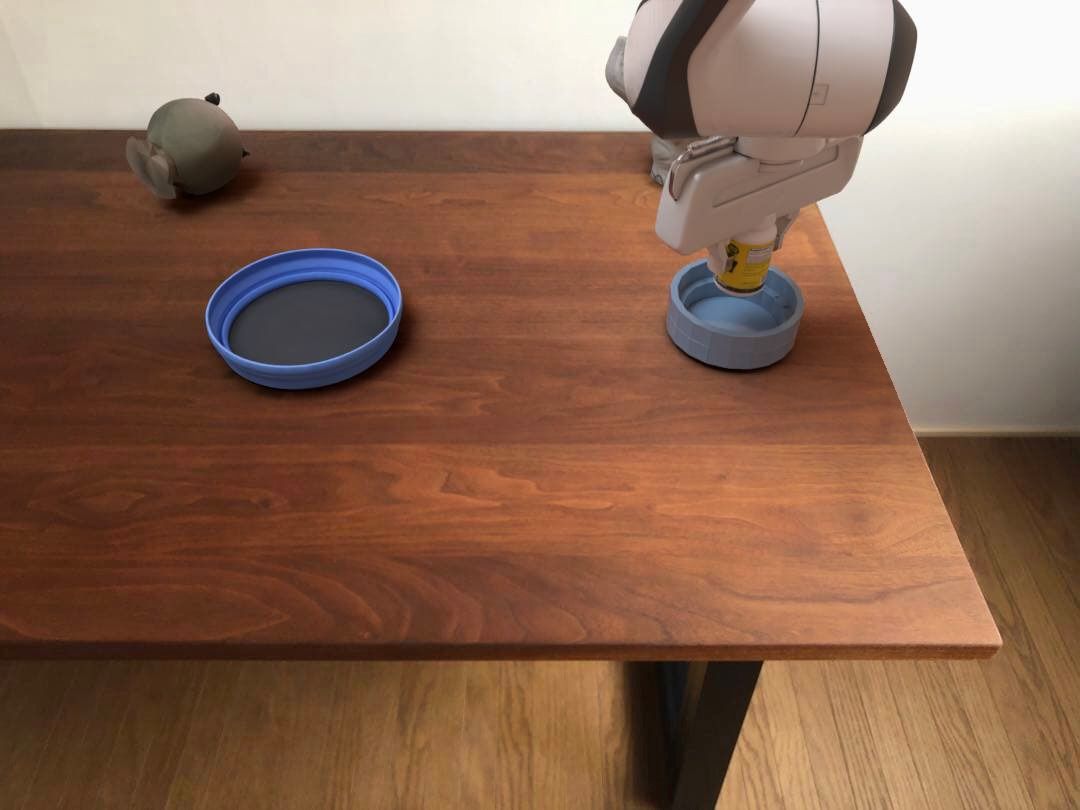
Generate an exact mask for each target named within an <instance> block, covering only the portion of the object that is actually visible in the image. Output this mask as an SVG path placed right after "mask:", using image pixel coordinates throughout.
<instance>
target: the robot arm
mask: <svg viewBox="0 0 1080 810" xmlns="http://www.w3.org/2000/svg"><path fill="white" fill-rule="evenodd" d="M917 28H918V27H917V26H916V23H915V22H914V20H913V18H912V17H911V15H910V13H909V12H908V11H907V9H906V8H905V7H904V5H903V4H902V3H901V2H900V1H899V0H641V1H640V3H639V4H638V6H637V9H636V11H635V14H634V17H633V20H632V22H631V23H630V26H629V30H628V33H627V36H626V37H627V40H626V45H625V52H624V84H625V90H626V94H627V102H628V104H627V106H628V105H629V106H628V108H629V107H630V108H629V110H630V109H631V110H632V111H633V113H634V114H635V115H636V116H637V117H636V116H635V115H634V116H635V117H636V118H637V119H638V120H639V121H640V122H641V123H642V124H643V125H644V126H645V127H646V128H647V129H649V130H650V131H651V132H652V134H653V133H654V134H656V135H657V136H658V137H659V138H661V139H662V140H669V139H687V138H701V137H702V136H712V137H710V138H708V139H706V140H703V141H701V140H700V141H696V142H693V143H691V144H690V145H688V146H687V147H686V149H685V152H684V153H682V154H681V155H680V156H679V157H678V159H677V160H675V161H674V162H673V163H672V165H671V168H670V171H669V173H668V175H667V178H666V181H665V184H664V186H663V187H662V191H661V195H660V199H659V203H658V208H657V212H656V217H655V223H654V233H655V235H656V236H657V238H658V239H659V240H660V241H661V242H662V243H663V244H664V245H666V246H667V247H668V248H669V249H671V250H672V251H674V252H675V253H676V254H678V255H680V256H683V257H686V256H689V255H692V254H694V253H697V252H700V251H701V250H704V249H706V250H707V252H708V255H707V258H708V261H707V267H708V269H709V270H710V271H712V272H713V273H714V274H716V275H718V276H719V275H721V274H723V273H726V272H728V271H730V270H732V268H733V266H732V264H733V262H734V258H735V256H734V255H733V254H732V253H730V252H727V250H726V249H725V247H724V246H726V245H729V243H730V240H731V237H733V236H735V235H738V234H740V233H743V232H745V231H748V230H750V229H752V228H755V227H757V226H759V225H760V224H761V223H762V221H763V220H764V218H765V217H766V216H768V215H771V214H773V213H776V221H775V225H776V227H777V235H776V239H775V243H774V248H773V252H772V253H774V252H777V251H779V250H781V249H782V247H783V243H784V238H785V235H787V233H788V231H789V230H790V228H791V227H792V226H793V224H794V223H795V221H797V219H798V217H799V215H800V212H801V209H803V208H806V207H808V206H810V205H813V204H815V203H818V202H820V201H822V200H825V199H827V198H829V197H832V196H834V195H838V194H839V193H841V192H842V191H843V190H844V189H845V188H846V187H847V185H848V184H849V182H850V181H851V180H852V178H853V175H854V173H855V170H856V167H857V164H858V161H859V159H860V154H861V152H862V151H861V150H862V147H863V143H864V139H865V136H866V135H868V134H869V133H871V132H872V131H873V130H875V129H876V128H877V127H878V126H880V125H881V124H882V123H883V122H884V121H885V120H886V119H887V118H888V117H889V116H890V115H891V113H893V112H894V110H895V109H896V107H897V106H899V104H900V102H901V101H902V98H903V96H904V93H905V92H906V88H907V85H908V82H909V79H910V76H911V71H912V68H913V65H914V60H915V56H916V50H917V45H918V44H917V43H918V29H917ZM631 110H630V111H631Z"/></svg>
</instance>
